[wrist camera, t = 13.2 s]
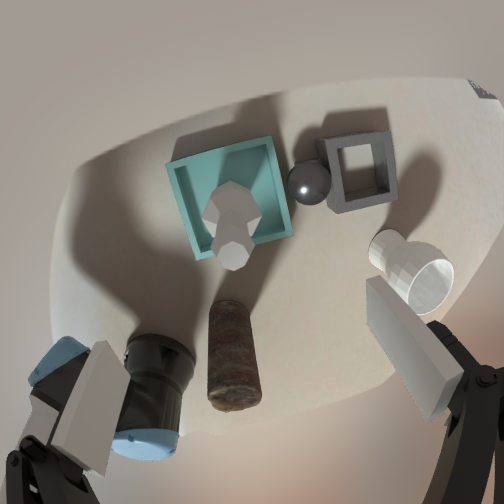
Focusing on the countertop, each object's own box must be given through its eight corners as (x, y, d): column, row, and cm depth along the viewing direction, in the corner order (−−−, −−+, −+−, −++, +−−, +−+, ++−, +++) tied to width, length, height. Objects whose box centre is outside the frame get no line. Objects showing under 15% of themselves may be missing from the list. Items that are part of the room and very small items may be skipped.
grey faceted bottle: (261, 195, 41) (292, 253, 21) (232, 225, 43) (235, 307, 22) (230, 166, 39) (230, 196, 19) (200, 197, 41) (173, 259, 20)
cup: (363, 223, 45) (410, 259, 32) (410, 219, 46) (462, 250, 32) (359, 277, 50) (397, 325, 36) (404, 270, 50) (447, 310, 36)
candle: (252, 298, 49) (265, 385, 31) (249, 330, 52) (260, 416, 34) (208, 297, 49) (201, 385, 30) (209, 329, 51) (204, 416, 33)
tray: (198, 251, 45) (196, 260, 42) (170, 162, 39) (165, 164, 36) (288, 228, 45) (293, 235, 42) (267, 135, 39) (271, 135, 36)
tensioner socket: (289, 215, 44) (297, 226, 39) (274, 147, 40) (280, 149, 34) (384, 193, 44) (401, 201, 38) (376, 130, 39) (393, 131, 34)
